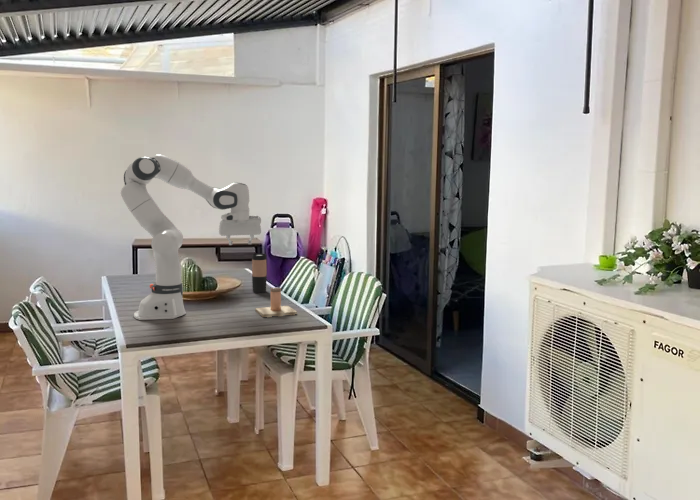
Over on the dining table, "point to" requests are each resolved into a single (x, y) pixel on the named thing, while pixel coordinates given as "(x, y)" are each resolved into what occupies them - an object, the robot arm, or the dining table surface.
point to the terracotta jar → (275, 299)
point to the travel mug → (259, 273)
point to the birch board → (268, 313)
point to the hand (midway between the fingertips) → (240, 244)
